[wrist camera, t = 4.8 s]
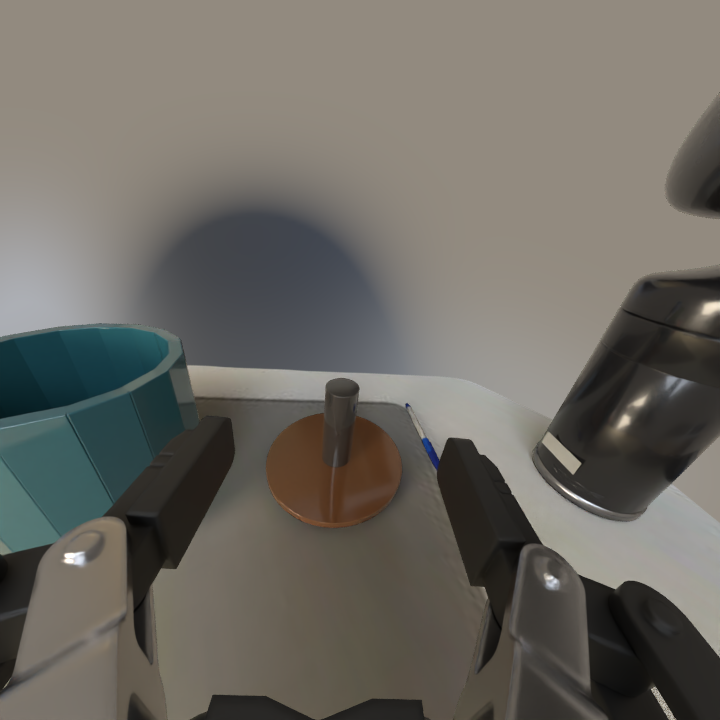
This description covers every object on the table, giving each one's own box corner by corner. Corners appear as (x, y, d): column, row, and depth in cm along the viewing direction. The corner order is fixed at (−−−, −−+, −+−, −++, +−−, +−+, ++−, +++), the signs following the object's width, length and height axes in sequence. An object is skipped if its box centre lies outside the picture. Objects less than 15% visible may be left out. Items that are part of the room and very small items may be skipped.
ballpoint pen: (443, 471, 27) (446, 465, 26) (435, 472, 26) (438, 465, 26) (408, 406, 36) (409, 400, 35) (402, 406, 35) (403, 400, 35)
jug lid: (354, 408, 34) (362, 343, 29) (427, 486, 25) (454, 410, 20) (250, 443, 27) (241, 366, 23) (299, 569, 18) (299, 480, 14)
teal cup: (202, 428, 28) (176, 317, 22) (222, 525, 20) (190, 389, 14) (42, 473, 22) (-53, 335, 16) (-25, 641, 14) (-270, 484, 8)
